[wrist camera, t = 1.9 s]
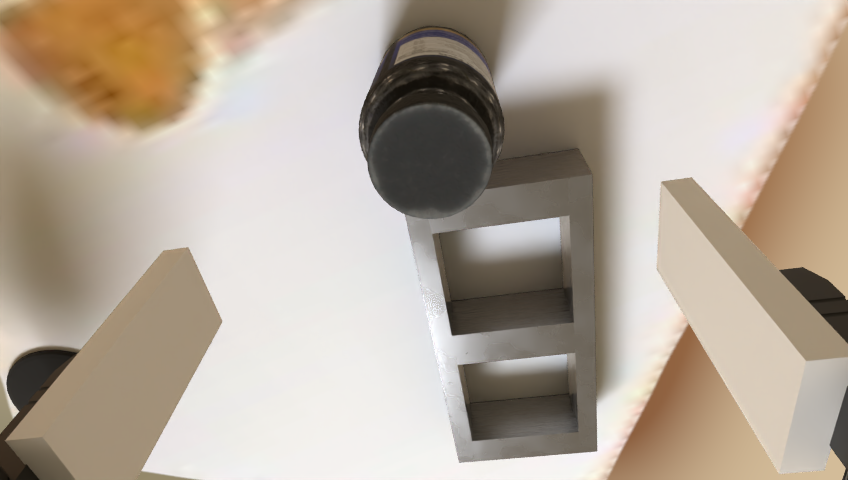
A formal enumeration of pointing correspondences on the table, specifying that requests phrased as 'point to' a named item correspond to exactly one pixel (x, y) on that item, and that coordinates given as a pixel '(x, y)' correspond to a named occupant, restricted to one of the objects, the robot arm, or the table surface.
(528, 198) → the rectangular frame
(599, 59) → the table surface
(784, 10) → the table surface
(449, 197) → the pill bottle
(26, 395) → the wine glass
